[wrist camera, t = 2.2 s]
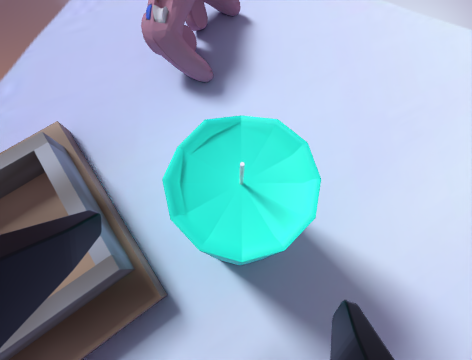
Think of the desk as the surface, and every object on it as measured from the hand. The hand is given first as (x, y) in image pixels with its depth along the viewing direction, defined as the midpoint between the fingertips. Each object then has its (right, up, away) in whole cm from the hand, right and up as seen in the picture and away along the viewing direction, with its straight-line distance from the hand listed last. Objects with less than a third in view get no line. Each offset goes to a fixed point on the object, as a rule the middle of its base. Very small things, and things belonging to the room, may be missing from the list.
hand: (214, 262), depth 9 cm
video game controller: (-3, +16, +17) cm, 23 cm away
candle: (+1, 0, +11) cm, 11 cm away
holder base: (-14, -2, +10) cm, 17 cm away
